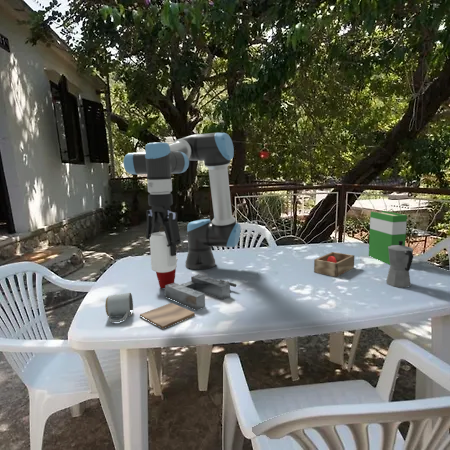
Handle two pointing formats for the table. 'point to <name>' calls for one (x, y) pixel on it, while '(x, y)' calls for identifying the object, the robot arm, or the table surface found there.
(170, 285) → the c-clamp
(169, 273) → the plastic cup
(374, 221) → the green cereal box
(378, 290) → the table surface
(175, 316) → the pad
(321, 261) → the crate frame
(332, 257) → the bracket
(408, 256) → the coffeepot
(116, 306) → the ceramic mug
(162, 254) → the beverage can
